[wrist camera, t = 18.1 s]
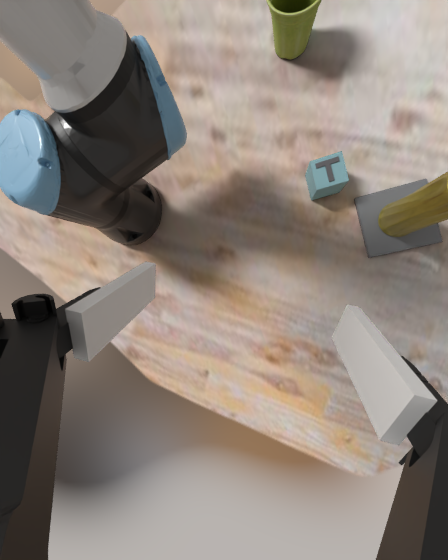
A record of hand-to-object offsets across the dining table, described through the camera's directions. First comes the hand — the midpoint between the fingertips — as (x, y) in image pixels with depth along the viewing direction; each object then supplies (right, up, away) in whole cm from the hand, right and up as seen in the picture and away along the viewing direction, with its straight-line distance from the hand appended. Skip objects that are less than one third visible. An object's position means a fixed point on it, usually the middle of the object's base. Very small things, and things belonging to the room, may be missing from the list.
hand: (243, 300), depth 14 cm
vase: (+29, +12, +22) cm, 38 cm away
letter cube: (+17, +20, +25) cm, 36 cm away
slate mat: (+29, +12, +22) cm, 39 cm away
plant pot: (+12, +47, +26) cm, 55 cm away
